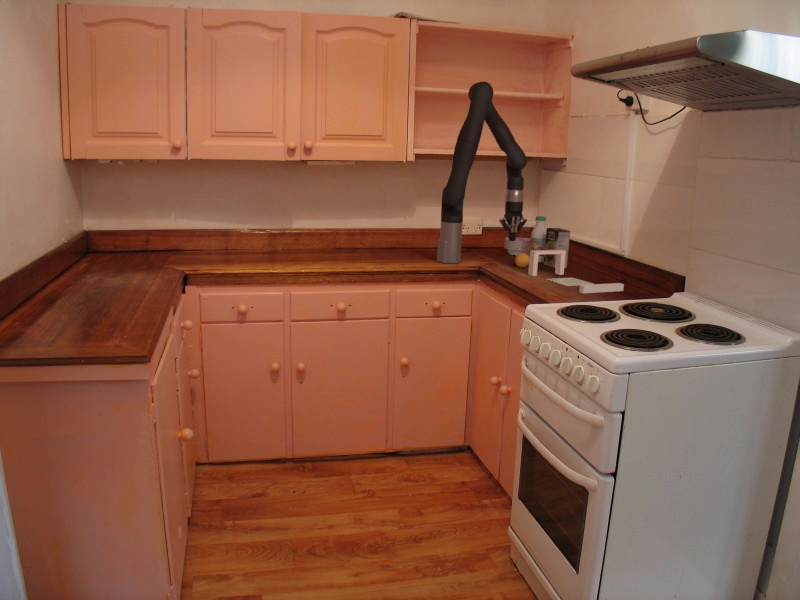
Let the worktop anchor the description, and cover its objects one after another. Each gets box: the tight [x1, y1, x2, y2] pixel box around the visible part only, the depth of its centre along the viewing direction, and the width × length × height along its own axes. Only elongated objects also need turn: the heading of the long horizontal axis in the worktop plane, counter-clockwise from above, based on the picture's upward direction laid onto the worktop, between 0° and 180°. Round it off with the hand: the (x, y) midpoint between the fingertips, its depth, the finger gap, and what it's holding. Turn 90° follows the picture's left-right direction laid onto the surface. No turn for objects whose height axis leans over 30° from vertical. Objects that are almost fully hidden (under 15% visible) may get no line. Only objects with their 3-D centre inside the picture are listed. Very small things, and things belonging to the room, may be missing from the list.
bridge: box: [527, 250, 566, 277], centre depth 268 cm, size 3×15×10 cm, turn 114°
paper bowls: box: [503, 236, 531, 257], centre depth 318 cm, size 15×15×8 cm
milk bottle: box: [529, 215, 547, 263], centre depth 300 cm, size 8×8×20 cm
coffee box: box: [543, 227, 571, 269], centre depth 289 cm, size 9×6×16 cm
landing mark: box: [545, 277, 595, 287], centre depth 256 cm, size 13×13×1 cm
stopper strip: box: [578, 282, 625, 294], centre depth 239 cm, size 18×2×2 cm, turn 114°
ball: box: [514, 253, 529, 268], centre depth 283 cm, size 6×6×6 cm
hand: (512, 240), depth 290 cm, fingers closed
